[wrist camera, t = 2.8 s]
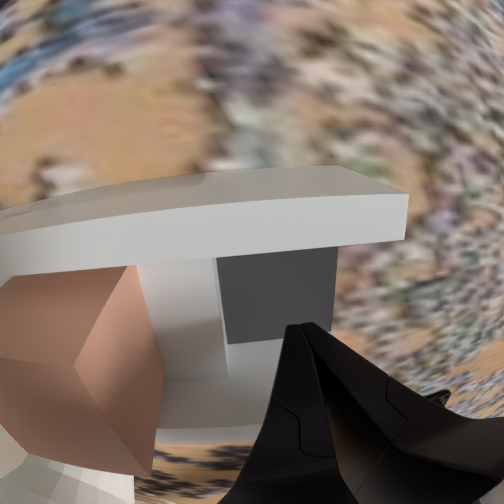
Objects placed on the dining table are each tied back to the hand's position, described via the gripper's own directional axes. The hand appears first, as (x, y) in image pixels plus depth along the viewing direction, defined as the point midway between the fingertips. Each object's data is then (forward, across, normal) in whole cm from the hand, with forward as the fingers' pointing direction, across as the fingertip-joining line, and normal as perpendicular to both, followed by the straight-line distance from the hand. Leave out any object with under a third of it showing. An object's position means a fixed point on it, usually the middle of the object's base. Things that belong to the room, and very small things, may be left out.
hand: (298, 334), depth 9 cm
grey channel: (+4, +7, 0) cm, 8 cm away
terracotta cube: (+2, +7, 0) cm, 8 cm away
